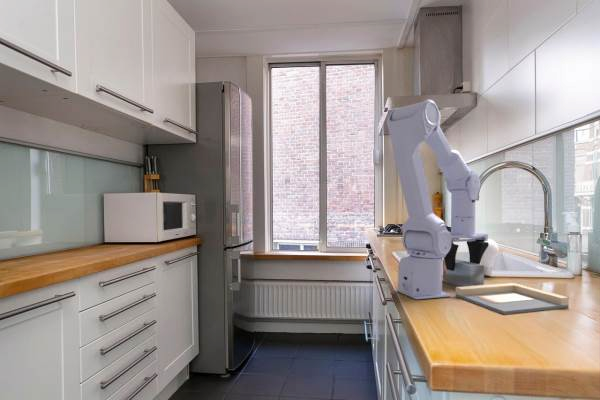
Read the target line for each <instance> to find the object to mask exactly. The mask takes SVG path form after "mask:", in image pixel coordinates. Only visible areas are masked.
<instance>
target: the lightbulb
mask: <svg viewBox="0 0 600 400" xmlns="http://www.w3.org/2000/svg"><path fill="white" fill-rule="evenodd" d="M484 242H488V247H487V249H486V250H485V252H484V254H483V256H482V258H481V261H480V265H484V275H485V276H484V277H489V276H491V275H492V274H493V273H492V269H493V265H494V263H495V260H496V259H497V258H498V256H499V254H500V247H499V244H498V242H496V241H495V240H493V239H491V238H488V241H484Z"/></svg>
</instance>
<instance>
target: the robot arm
mask: <svg viewBox="0 0 600 400" xmlns="http://www.w3.org/2000/svg"><path fill="white" fill-rule="evenodd" d="M386 125H387V129H388V133H389V138H390V142H391V147H392V151H393V156H394V160H395V165H396V168H397V173H398V176H399V181H400V186H401V189H402V193H403V198H404V202H405V206H406V210H407V215H408V219H406V220H405V222H403V223H402V225H401V231H402V237H401V241H402V245H403V248H404V250H406V253H407V255H408V256H403V257H402V258H401V259H400V260H399V262H398V267H397V268H398V271H397V272H398V274H397V277H398V278H397V283H398V284H397V288H396V292H399V293H401V294H403V295H405V296H408V297H410V298H412V299H414V300H423V299H424V300H425V299H434V298H446V297H447V298H449V297H451V295H452V294H451V293H448V292H445V291H443V259H444V260H445V264H446V268H447V270H451V271H454V269H455V259H457V258H456V257H457V252H458V250H459V246H460V245H459V244H455V243H457V242H459V243H460V242H461V243H462V242H466V245H467V248H468V253H469V262H472V263H476V264H480V265H481V263H480V261H481V258H482V256H483V254H484V252H485V250H486V249H487V247H488V242H484V241H488V239H489V234H488V233H483V232H481V233H478V232H476V200H478V198H479V192H480V191H479V190H480V189H481V188H480V187H481V181H480V180H481V179H480V176H479V173H477V172H475V171H473V170H470V168H469V166H468V165H467V163H466V162H465V160H464V158H463V157H462V155H461V154H460V151H458V150H456V149H452V148H451V146H450V144H449V141H448V140H447V138H446V136H445V134H444V132H443V130H442V128H441V126H440V125H441V112H440V111H439V108H438V106H437V103H435V101H434V100H431V99H425V100H423V101H420V102H416V103H413V104H409V105H405V106H401V107H396V108H393V109H391V111H390V113H389V114H388V117H387V119H386ZM422 142H425V144H427V146H428V148H430V149H431V151H432V152H433V153H434V154H435V156H436V157H437V159H436V165H437V167H438V168H439V170H440V171H441V172H442V174H443V176H444V179H445V180H444V181H445V185H446V188H447V191H448V192H449V193H450V194H451V196H450V197H451V200H450V202H451V203H450V209H451V210H450V211H451V212H450V216H451V217H450V232H449V230H448V229H447V226H446V223H445V221H444V220H443V219H442V218H440V217H439V216H438V215H436V214H435V213H434V210H433V206H432V205H433V204H432V202H431V197H430V193H429V188H428V183H427V180H426V175H425V170H424V166H423V162H422V158H421V157H422V156H421V152H420V146H421V144H422Z"/></svg>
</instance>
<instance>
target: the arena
mask: <svg viewBox="0 0 600 400" xmlns="http://www.w3.org/2000/svg"><path fill="white" fill-rule="evenodd" d="M455 297H456V298H459V299H461V300H465V301H467V302H470V303H473V304H475V305H478V306H481V307H484V308H486V309H489V310H491V311H494V312H496V313H499V314H502V315H511V314H512V315H513V314H521V313H531V312H539V311H549V310H558V309H559V310H560V309H566V308H567V309H569V306H570V305H569V304H570V303H569V299H570V298H569V297H568V296H565V295H561V294H557V293H555V292H554V293H553V292H551V291H550V292H549V291H546V290H542V289H537V288H533V287H530V286H527V285H522V284H519V283H516V282H515V283H514V282H508V283H507V282H506V283H494V284H484V285H478V286H464V287H459V286H456V287H455Z"/></svg>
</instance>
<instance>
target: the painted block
mask: <svg viewBox="0 0 600 400" xmlns="http://www.w3.org/2000/svg"><path fill="white" fill-rule="evenodd" d="M442 282H444V283H448V284H450V285H453V286H456V287H464V286H478V285H485V283H484V282H485V276H484V265H481V263H480V264H476V263H472V262H470V261H467V260H463V259H459V258H458V259H457V258H455V269H454V271H451V270H447V268H446V264H445V260H444V258H442Z"/></svg>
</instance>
